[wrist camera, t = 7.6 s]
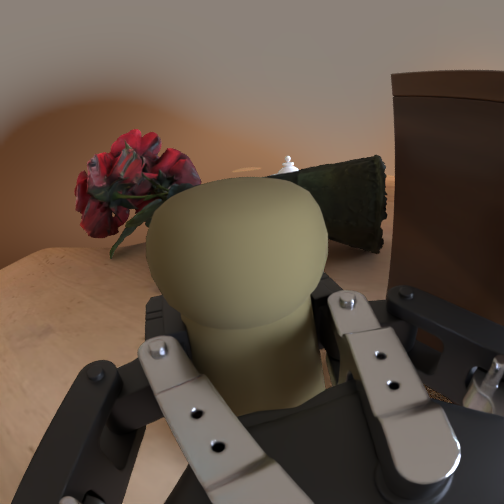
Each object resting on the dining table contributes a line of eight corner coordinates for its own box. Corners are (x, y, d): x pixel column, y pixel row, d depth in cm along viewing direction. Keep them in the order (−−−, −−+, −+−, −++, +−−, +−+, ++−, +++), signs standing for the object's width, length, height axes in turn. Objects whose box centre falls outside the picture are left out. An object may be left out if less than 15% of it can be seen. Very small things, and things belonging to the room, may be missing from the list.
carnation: (366, 306, 34) (107, 276, 43) (368, 172, 41) (144, 171, 50) (395, 247, 20) (32, 226, 29) (378, 81, 27) (95, 106, 36)
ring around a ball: (280, 196, 49) (322, 188, 52) (277, 160, 47) (320, 154, 50) (259, 189, 56) (298, 181, 59) (256, 157, 54) (295, 152, 57)
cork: (335, 387, 15) (340, 161, 10) (321, 492, 10) (344, 218, 5) (223, 377, 16) (180, 171, 12) (181, 468, 11) (71, 228, 7)
